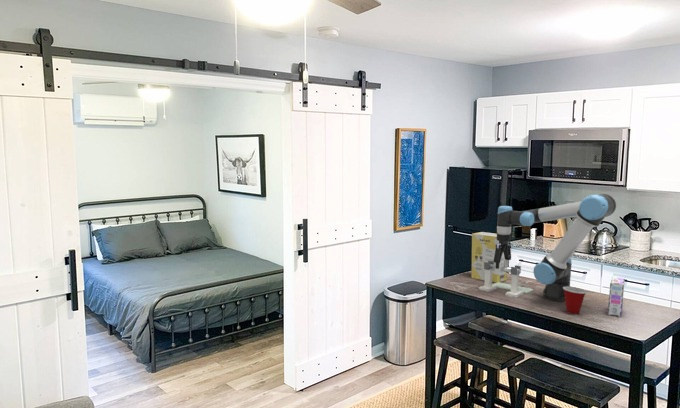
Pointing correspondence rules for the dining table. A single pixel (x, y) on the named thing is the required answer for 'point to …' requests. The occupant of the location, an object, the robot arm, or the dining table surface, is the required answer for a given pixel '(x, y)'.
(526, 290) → the mat
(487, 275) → the rack
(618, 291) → the candy box
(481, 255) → the pasta box
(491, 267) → the rail
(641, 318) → the dining table surface
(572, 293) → the plastic cup
